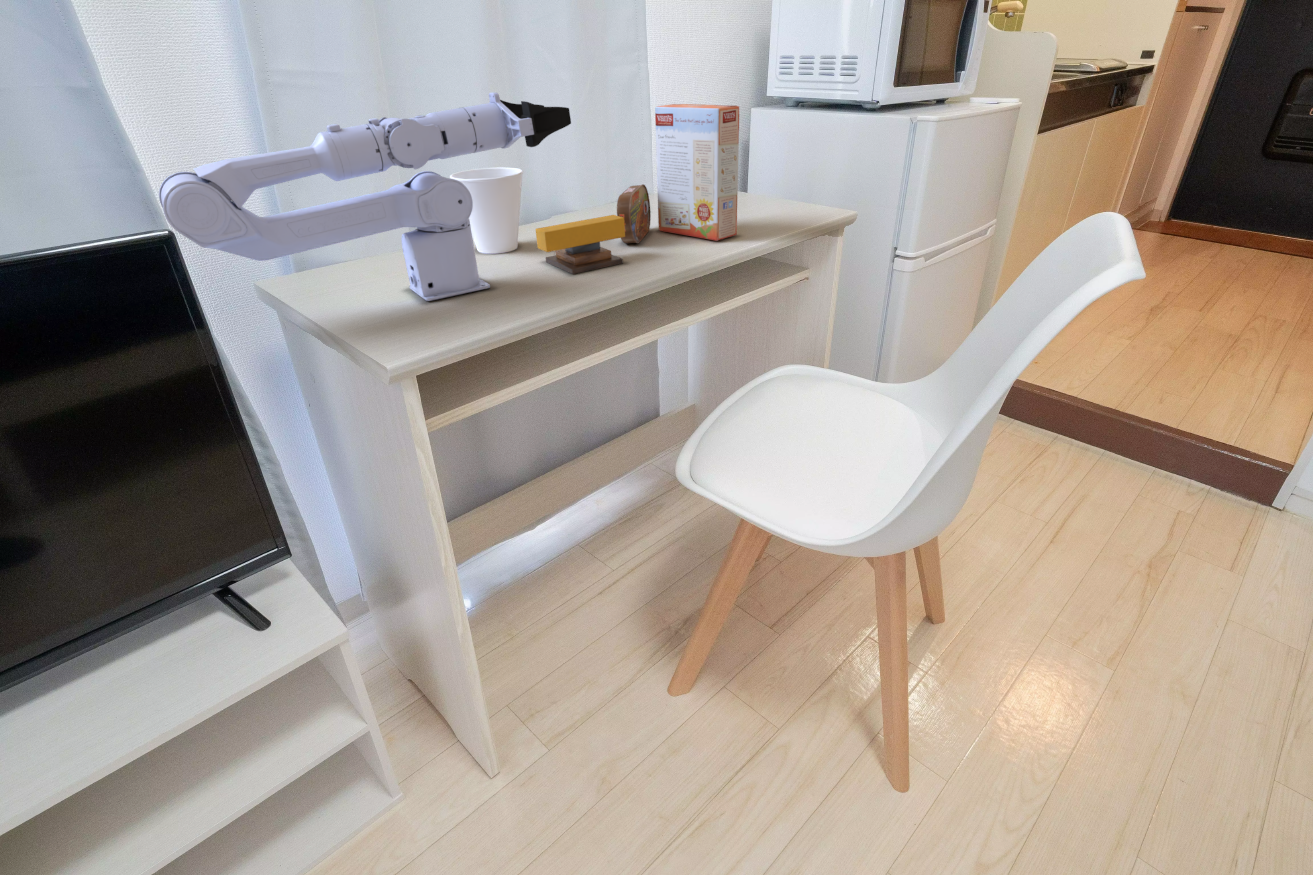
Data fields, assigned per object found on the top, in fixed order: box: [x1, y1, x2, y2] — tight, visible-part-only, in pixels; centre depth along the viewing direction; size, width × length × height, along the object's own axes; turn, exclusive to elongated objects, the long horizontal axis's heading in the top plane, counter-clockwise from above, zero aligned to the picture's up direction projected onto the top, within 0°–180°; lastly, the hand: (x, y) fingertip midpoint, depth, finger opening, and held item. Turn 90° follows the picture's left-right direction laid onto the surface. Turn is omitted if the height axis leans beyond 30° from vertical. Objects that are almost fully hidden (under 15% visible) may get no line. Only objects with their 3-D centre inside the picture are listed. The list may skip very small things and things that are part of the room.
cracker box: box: [654, 103, 740, 242], centre depth 120 cm, size 14×6×21 cm, turn 46°
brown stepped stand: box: [545, 242, 624, 275], centre depth 110 cm, size 9×9×3 cm
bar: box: [535, 214, 625, 253], centre depth 108 cm, size 14×3×3 cm, turn 125°
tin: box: [616, 184, 652, 244], centre depth 122 cm, size 15×3×8 cm, turn 168°
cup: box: [449, 166, 524, 255], centre depth 117 cm, size 12×12×12 cm
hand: (556, 114), depth 100 cm, fingers open, 7 cm apart
